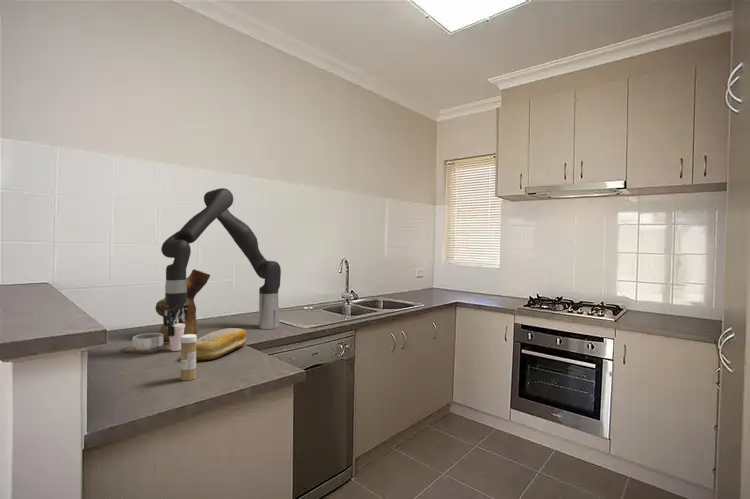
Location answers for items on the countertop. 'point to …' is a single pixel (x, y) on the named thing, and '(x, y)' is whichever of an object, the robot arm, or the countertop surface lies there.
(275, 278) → the robot arm
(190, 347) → the sprinkles bottle
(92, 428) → the countertop surface
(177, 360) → the countertop surface
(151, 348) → the duct collar
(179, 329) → the smoothie
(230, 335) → the bread
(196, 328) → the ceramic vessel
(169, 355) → the countertop surface
